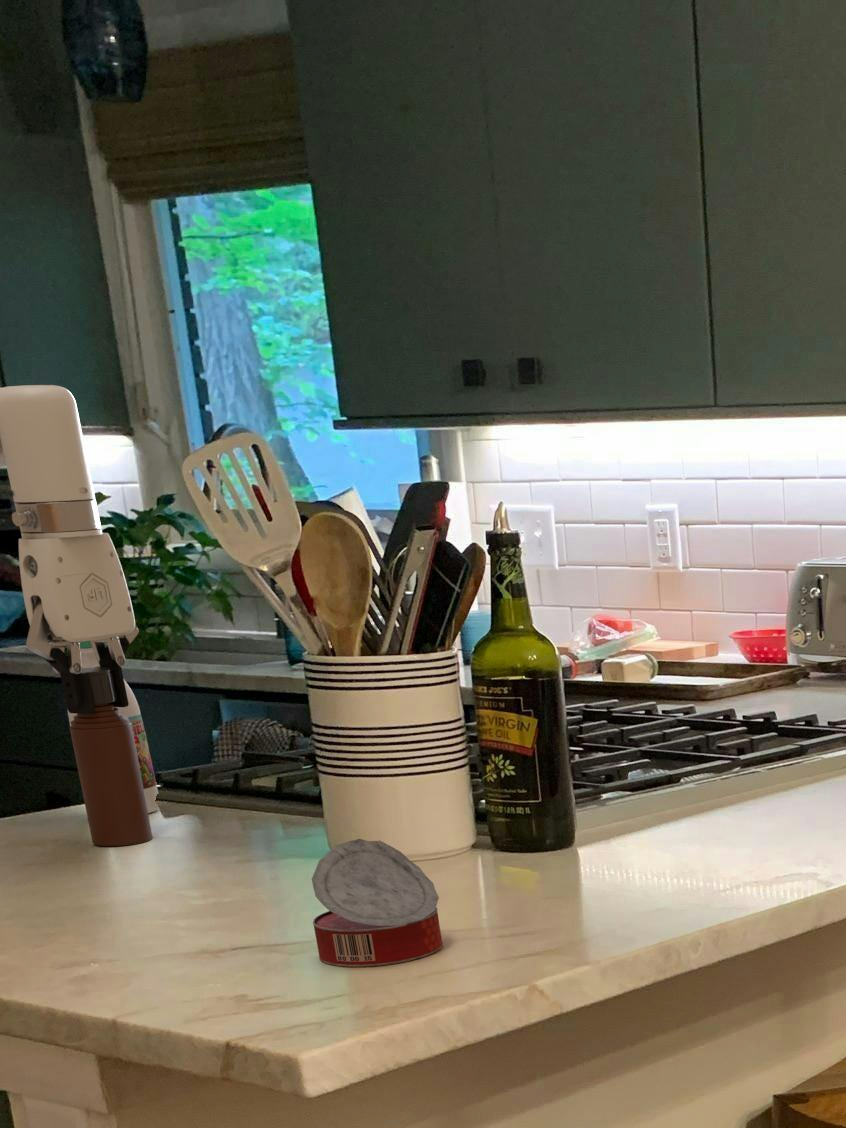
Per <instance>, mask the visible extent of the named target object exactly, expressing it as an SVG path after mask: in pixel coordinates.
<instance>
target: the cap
mask: <svg viewBox="0 0 846 1128" xmlns="http://www.w3.org/2000/svg"><path fill="white" fill-rule="evenodd" d="M81 673H87V675H88V677H89V681H90V686H91V691H92V696H93V700H94V705H95V704H106V703H111V702H115V701H116V694H115V689H114V684H113V679H112V674H111V671H110V669H109V668H100V667H97V668H82V671H81Z"/></svg>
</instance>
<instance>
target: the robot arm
mask: <svg viewBox="0 0 846 1128" xmlns="http://www.w3.org/2000/svg"><path fill="white" fill-rule="evenodd" d="M0 468H6V470H7V476H8V480H9V485H10V490H11V495H12V498H13V502H14V507H15V511H13V513H12V514H11V520H12V523H13V524H14V525H15V526H16V527H19V530H20V534H21V535H20V536H21V538H18V560H19V561H18V562H19V573H20V583H21V589H22V596H23V601H24V607H25V613H26V616H27V620H28V624H29V630H28V633H27V637H26V638H27V639H26V643H25V645H26V648H27V649H28V650H29V651H30V652H32V653H34V654H36V655H38V656H40V657H42V658H43V660H45V661H46V662H47V663H48V664H49V665H50V666H51V667H52V670H53V672H54V673H55V674H59V675H60V676H59V677H60V680H61V684H62V689H63V694H64V698H65V703H66V708H67V712H68V711H69V712H70V713H77V714H91V713H94V712H95V705H94V700H93V696H92V691H91V686H90V681H89V677H88V675H87V673H81V671H82V664H81V651H80V642H83V641H90V642H91V645H92V648H93V651H94V653H95V656H96V659H97V662H98V664H99V665H100V668H109V669H110V671H111V674H112V679H113V684H114V689H115V694H116V701H115V702H111V703H112V704H114V707H127V706H128V704H129V703H128V698H127V693H126V688H125V683H124V680H125V678H124V675H123V669H122V667H125V665H126V655H127V652H128V651H129V648H130V644H132V642H133V641H134V640H135V639H136V637H137V636H138V635H139V633H140V632H139V628H138V625H137V624H136V619H135V613H134V609H133V604H132V599H131V596H130V591H129V588H128V583H127V580H126V577H125V573H124V571H123V567H122V564H121V561H120V558H119V555H118V553H117V550H116V548H115V545H114V543H113V540H112V538H111V536H110V534H109V532H103V529H102V524H101V520H100V514H99V509H98V503H97V500H96V495H95V489H94V485H93V480H92V475H91V469H90V464H89V459H88V455H87V449H86V445H85V440H84V434H83V430H82V425H81V421H80V415H79V411H78V406H77V402H76V399H75V397H74V395H73V394H72V392H71V391H70V390H68V389H67V388H66V387H63V386H61V385H55V384H27V385H9V386H4V387H0ZM104 642H106V643H107V646H106V648H105V645H104ZM65 648H66V651H67V653H66V652H65ZM98 667H99V666H98ZM94 668H97V667H94ZM123 678H124V679H123Z"/></svg>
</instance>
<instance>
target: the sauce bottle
mask: <svg viewBox="0 0 846 1128" xmlns="http://www.w3.org/2000/svg"><path fill="white" fill-rule="evenodd" d="M69 731H70V737H71V741H72V746H73V747H72V748H73V751H74V757H75V762H76V767H77V772H78V777H79V781H80V786H81V787H80V788H81V792H82V797H83V803H84V806H85V810H86V816H87V821H88V826H89V831H90V836H91V842H92V844H93V845H96V846H100V847H120V846H121V847H123V846H130V845H137V844H141V843H142V844H143V843H146V842H148V841H151V840H152V839H153V832H152V827H151V821H150V816H149V813H148V810H147V804H146V799H145V794H144V788H143V783H142V778H141V773H140V767H139V762H138V757H137V751H136V746H135V741H134V735H133V730H132V725H131V723H130V722H129V719H128V718H127V717H124V714H123V713H121V712H119V709H118V708H114V704H112V703H106V704H95V712H94V713H91V714H77V715H76V716H74V720H73V721H71V726H70V725H69Z"/></svg>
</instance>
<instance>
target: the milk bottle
mask: <svg viewBox="0 0 846 1128" xmlns="http://www.w3.org/2000/svg"><path fill="white" fill-rule="evenodd" d="M104 645H105V648H106V646H107V643H106V642H104ZM80 651H81V664H82V668H94V667H98V666H99V667H100V665H99V664H98V662H97V659H96V656H95V653H94V651H93V648H92V645H91V642H90V641H83V642H80ZM123 679H124V683H125V688H126V693H127V698H128V703H129V704H128V706H127V707H114V708H118V709H119V712H121V713H123V714H124V717H127V718H128V719H129V722H130V723H131V725H132V730H133V735H134V741H135V746H136V751H137V757H138V762H139V767H140V773H141V778H142V783H143V788H144V794H145V799H146V804H147V810H148V814H150V813H153V812H156V811H158V810H160V808H159V807H158V805H157V804H156V802H155V800H156V796H157V794H159V789H158V785H157V781H156V775H155V770H154V766H153V761H152V756H151V752H150V747H149V743H148V738H147V733H146V730H145V726H144V721H143V718H142V713H141V709H140V705H139V703H138V700H137V699H136V696H135V694H134V692H133V690H132V689H131V687H130V686H129V684H128V683H127V680H125V678H124V677H123ZM76 715H77V713H70V712H69V711H68V710H67V716H68V722H69V727H70V726H71V721H73V720H74V716H76Z"/></svg>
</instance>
